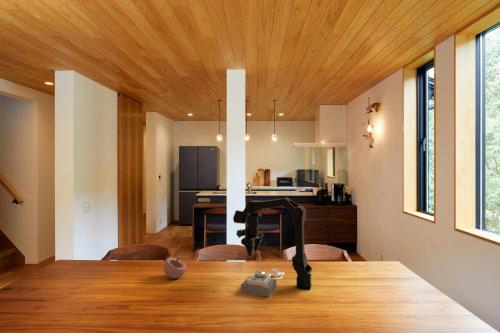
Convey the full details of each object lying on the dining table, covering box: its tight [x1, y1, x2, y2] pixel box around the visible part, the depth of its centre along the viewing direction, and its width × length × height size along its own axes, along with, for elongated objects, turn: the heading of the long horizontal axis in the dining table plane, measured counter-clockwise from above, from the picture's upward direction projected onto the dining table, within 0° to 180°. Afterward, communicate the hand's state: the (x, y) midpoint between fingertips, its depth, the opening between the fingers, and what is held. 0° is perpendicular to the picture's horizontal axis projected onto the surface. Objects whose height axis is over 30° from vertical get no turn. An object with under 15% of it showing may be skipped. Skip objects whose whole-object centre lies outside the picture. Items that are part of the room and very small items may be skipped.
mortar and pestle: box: [163, 256, 187, 279], centre depth 165 cm, size 12×12×11 cm
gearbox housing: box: [240, 272, 277, 298], centre depth 149 cm, size 14×12×6 cm
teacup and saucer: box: [268, 268, 285, 280], centre depth 167 cm, size 9×8×4 cm
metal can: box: [254, 269, 266, 281], centre depth 150 cm, size 5×5×8 cm
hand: (252, 253), depth 164 cm, fingers open, 9 cm apart
